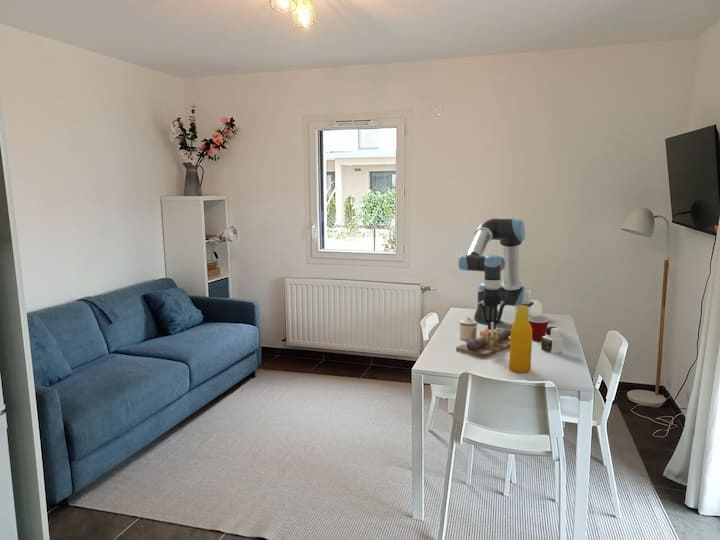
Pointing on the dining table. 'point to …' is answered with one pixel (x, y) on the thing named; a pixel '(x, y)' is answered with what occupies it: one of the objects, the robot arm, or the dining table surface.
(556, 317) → the dining table surface
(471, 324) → the teacup with lid
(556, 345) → the medicine bottle
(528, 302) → the candle holder
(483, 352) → the pipe valve
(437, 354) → the dining table surface
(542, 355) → the dining table surface
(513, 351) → the beer bottle
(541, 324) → the plastic cup
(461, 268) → the robot arm
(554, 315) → the dining table surface
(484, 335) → the valve lever
